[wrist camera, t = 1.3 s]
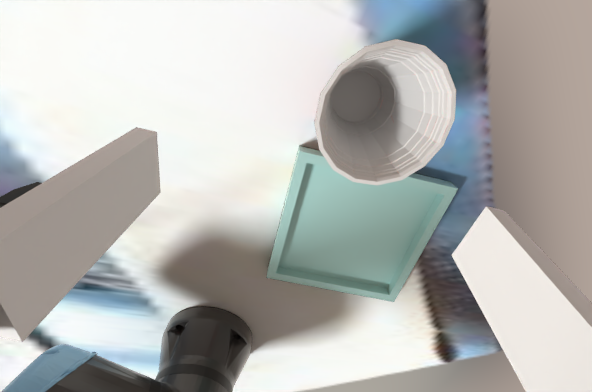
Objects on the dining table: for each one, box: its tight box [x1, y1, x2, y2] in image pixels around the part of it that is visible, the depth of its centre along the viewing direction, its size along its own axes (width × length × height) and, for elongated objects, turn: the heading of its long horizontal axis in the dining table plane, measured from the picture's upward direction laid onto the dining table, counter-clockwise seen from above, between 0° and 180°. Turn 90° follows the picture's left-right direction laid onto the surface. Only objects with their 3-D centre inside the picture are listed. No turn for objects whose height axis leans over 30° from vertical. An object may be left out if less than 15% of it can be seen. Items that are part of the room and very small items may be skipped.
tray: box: [266, 146, 458, 302], centre depth 39 cm, size 20×20×2 cm
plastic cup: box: [314, 39, 456, 185], centre depth 26 cm, size 11×11×12 cm
